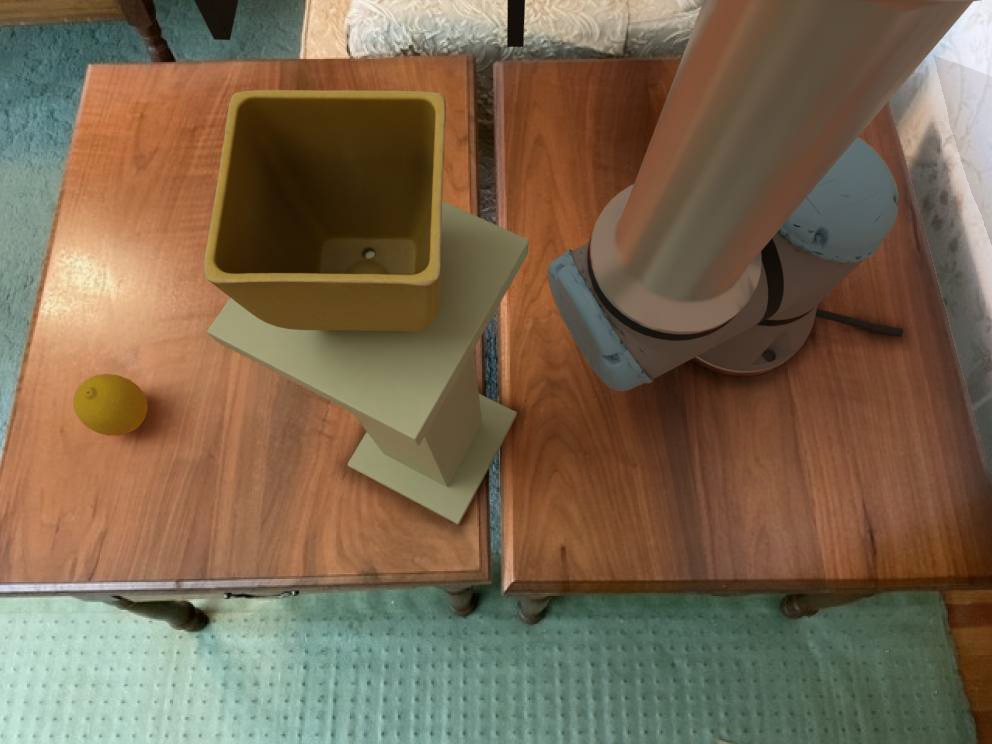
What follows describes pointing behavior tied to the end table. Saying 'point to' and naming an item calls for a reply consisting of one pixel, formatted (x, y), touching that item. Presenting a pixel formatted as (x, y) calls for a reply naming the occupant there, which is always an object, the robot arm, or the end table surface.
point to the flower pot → (331, 208)
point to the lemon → (110, 404)
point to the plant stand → (408, 372)
